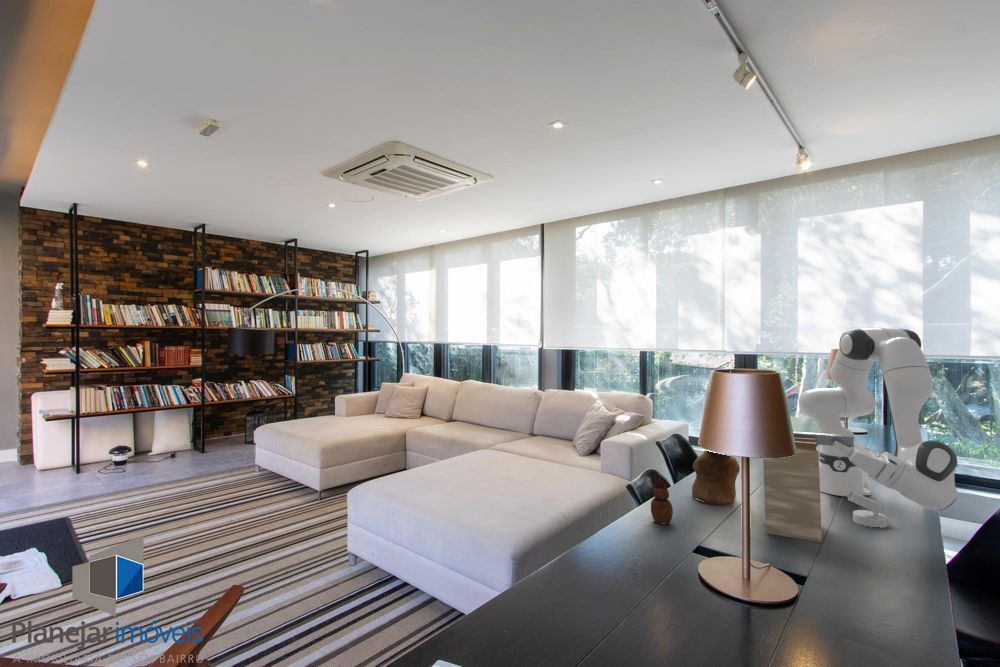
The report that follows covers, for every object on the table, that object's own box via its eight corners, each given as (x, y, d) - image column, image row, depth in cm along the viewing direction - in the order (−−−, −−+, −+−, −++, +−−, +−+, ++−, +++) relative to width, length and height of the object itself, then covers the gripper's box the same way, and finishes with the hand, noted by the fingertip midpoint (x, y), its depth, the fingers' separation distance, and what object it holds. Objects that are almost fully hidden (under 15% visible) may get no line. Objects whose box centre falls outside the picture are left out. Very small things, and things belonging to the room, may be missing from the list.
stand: (767, 517, 155) (764, 431, 156) (819, 525, 148) (816, 435, 148) (765, 532, 143) (762, 439, 144) (821, 542, 136) (818, 443, 136)
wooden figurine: (647, 520, 155) (646, 474, 155) (660, 517, 157) (659, 471, 158) (663, 527, 149) (662, 479, 149) (676, 524, 151) (675, 476, 152)
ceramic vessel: (729, 492, 181) (726, 414, 182) (754, 513, 159) (751, 423, 160) (686, 492, 183) (684, 414, 183) (705, 512, 161) (702, 423, 162)
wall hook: (841, 487, 155) (876, 488, 153) (842, 517, 155) (877, 518, 153) (855, 495, 146) (893, 497, 144) (857, 527, 146) (894, 529, 144)
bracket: (775, 439, 153) (774, 414, 153) (852, 445, 142) (851, 418, 142) (775, 441, 150) (774, 415, 150) (853, 447, 140) (852, 420, 140)
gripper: (884, 451, 145) (835, 425, 152) (897, 467, 128) (841, 437, 134) (872, 468, 147) (824, 442, 153) (883, 485, 129) (828, 455, 136)
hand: (832, 440), depth 144 cm, fingers open, 8 cm apart
